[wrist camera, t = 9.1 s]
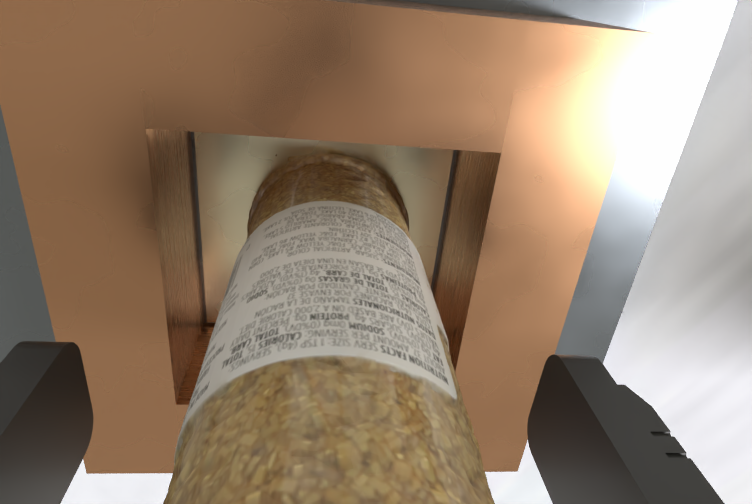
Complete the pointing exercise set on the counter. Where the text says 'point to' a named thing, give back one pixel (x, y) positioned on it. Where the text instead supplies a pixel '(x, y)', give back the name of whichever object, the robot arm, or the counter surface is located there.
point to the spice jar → (328, 359)
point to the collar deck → (342, 137)
